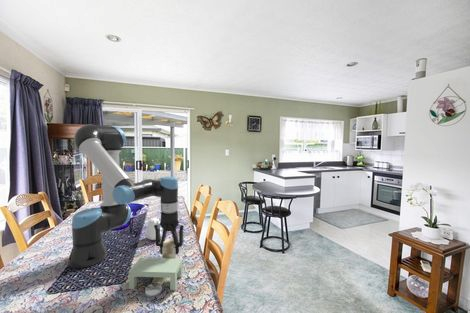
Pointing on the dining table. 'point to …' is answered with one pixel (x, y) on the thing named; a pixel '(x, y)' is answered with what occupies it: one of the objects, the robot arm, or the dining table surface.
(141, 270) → the footstool
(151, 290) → the token
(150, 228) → the figurine
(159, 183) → the robot arm
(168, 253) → the pusher
